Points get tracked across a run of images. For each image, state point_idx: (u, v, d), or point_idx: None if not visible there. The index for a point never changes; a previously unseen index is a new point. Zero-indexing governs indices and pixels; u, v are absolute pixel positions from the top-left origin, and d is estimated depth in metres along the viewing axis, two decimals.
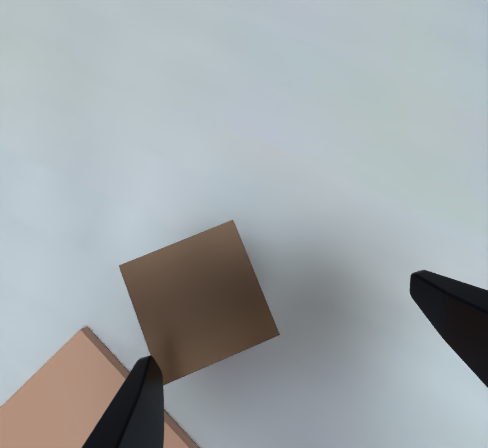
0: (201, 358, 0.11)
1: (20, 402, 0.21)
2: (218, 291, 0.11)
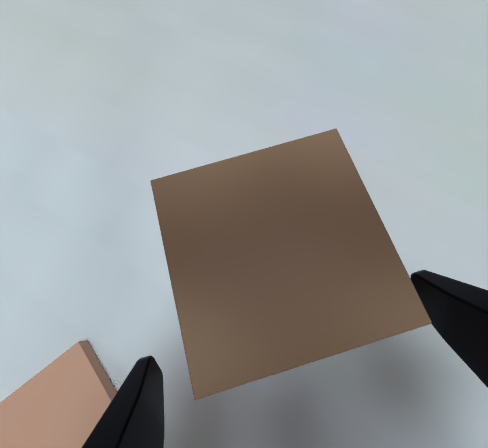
0: (276, 352, 0.05)
1: None
2: (311, 233, 0.06)
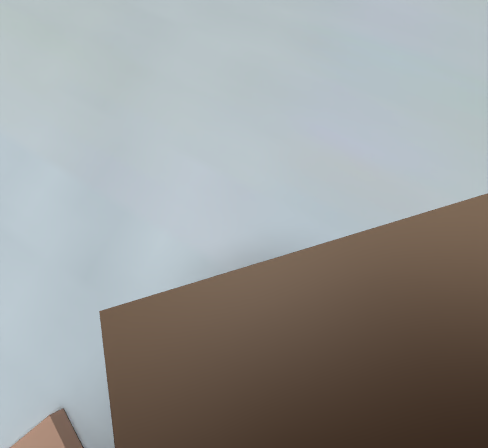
0: None
1: None
2: None
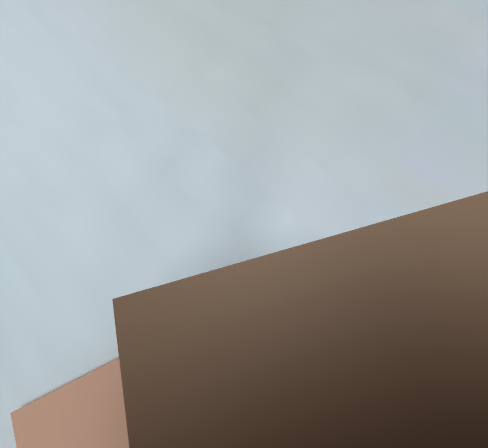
0: None
1: None
2: None
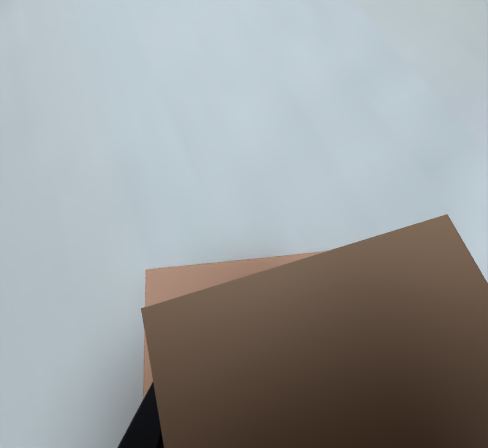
0: None
1: None
2: (430, 426, 0.03)
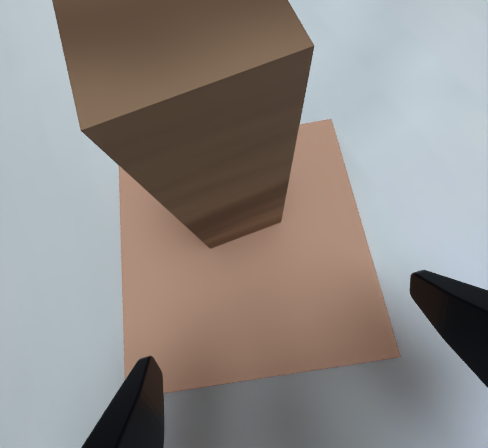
0: (160, 86, 0.06)
1: None
2: None
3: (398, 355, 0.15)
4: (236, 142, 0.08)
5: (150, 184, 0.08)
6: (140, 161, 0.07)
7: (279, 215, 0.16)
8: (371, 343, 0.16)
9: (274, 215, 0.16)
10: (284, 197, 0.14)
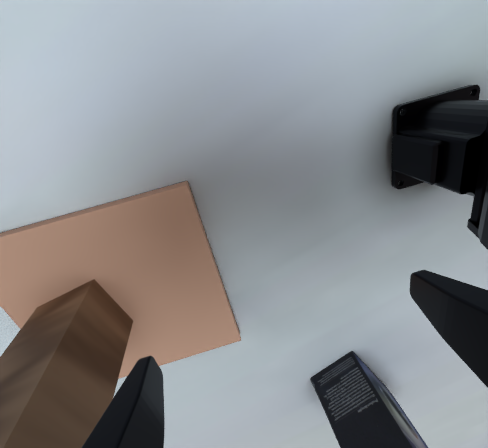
0: None
1: (26, 320, 0.21)
2: None
3: (186, 186, 0.19)
4: None
5: None
6: None
7: (88, 295, 0.19)
8: (181, 206, 0.19)
9: (89, 303, 0.19)
10: (70, 325, 0.16)
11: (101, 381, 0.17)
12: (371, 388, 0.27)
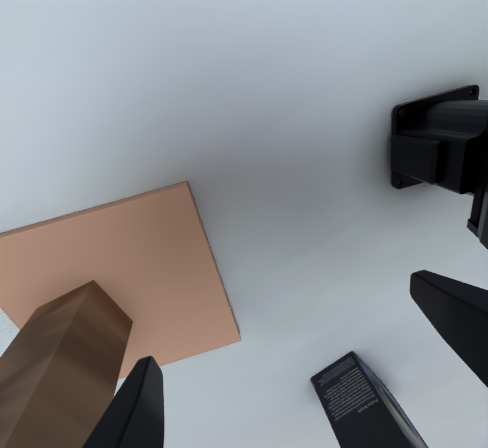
0: None
1: (26, 321, 0.21)
2: None
3: (185, 186, 0.19)
4: None
5: None
6: None
7: (87, 296, 0.19)
8: (180, 206, 0.19)
9: (88, 304, 0.19)
10: (69, 326, 0.16)
11: (101, 382, 0.17)
12: (371, 388, 0.27)
